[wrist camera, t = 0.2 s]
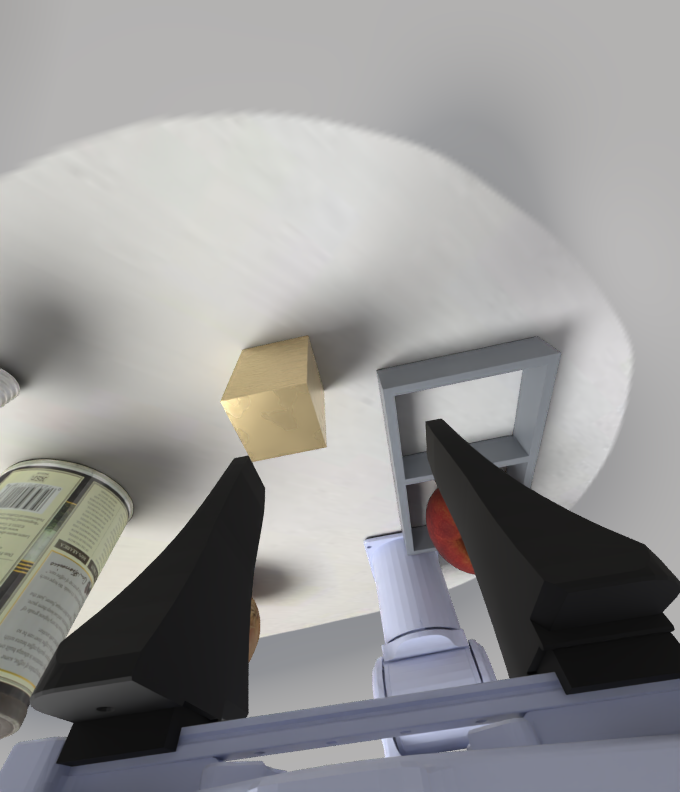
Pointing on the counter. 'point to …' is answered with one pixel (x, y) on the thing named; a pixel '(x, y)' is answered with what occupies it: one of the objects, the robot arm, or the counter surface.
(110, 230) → the counter surface
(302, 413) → the wooden block
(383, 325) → the counter surface
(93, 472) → the coffee can
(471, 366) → the grey divided tray
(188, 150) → the counter surface
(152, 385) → the counter surface
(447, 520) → the apple
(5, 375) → the lightbulb
